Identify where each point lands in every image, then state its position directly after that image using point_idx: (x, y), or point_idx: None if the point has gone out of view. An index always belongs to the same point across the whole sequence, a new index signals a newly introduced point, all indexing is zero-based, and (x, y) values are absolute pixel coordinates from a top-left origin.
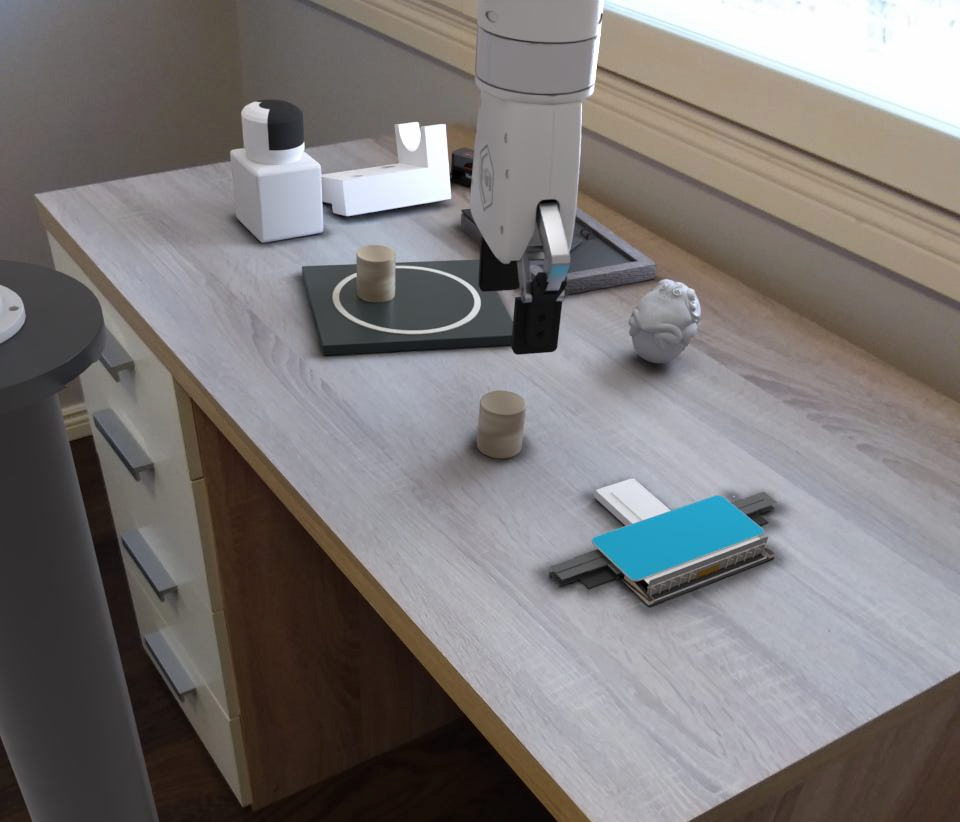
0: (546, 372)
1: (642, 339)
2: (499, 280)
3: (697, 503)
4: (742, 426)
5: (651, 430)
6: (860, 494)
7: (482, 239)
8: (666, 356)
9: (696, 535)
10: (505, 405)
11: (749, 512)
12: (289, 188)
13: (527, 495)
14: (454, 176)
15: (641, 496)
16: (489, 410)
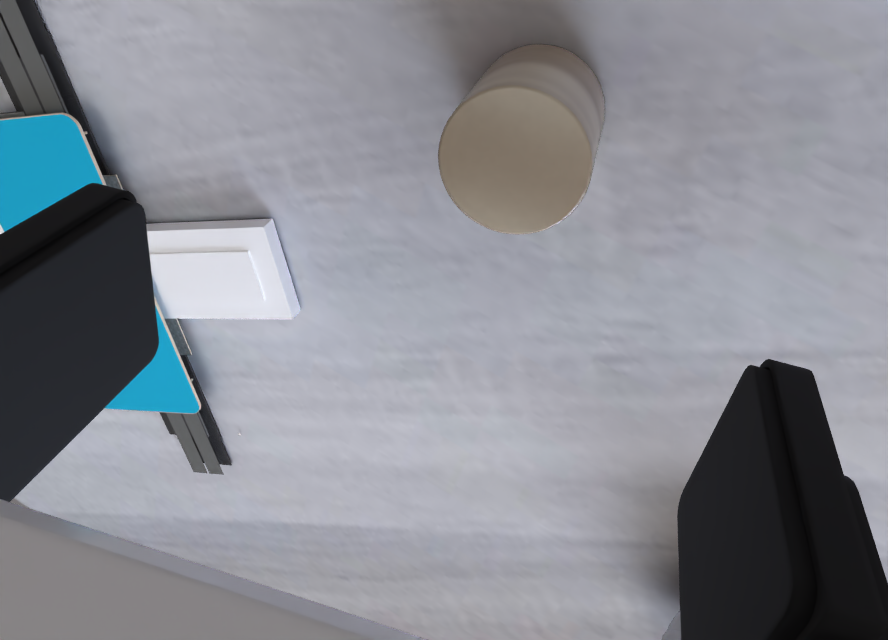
0: (824, 408)
1: None
2: (719, 466)
3: (178, 366)
4: (438, 569)
5: (478, 449)
6: (228, 568)
7: (839, 613)
8: (670, 623)
9: None
10: (494, 163)
11: (171, 423)
12: None
13: (310, 76)
14: None
15: (225, 296)
16: (481, 98)
